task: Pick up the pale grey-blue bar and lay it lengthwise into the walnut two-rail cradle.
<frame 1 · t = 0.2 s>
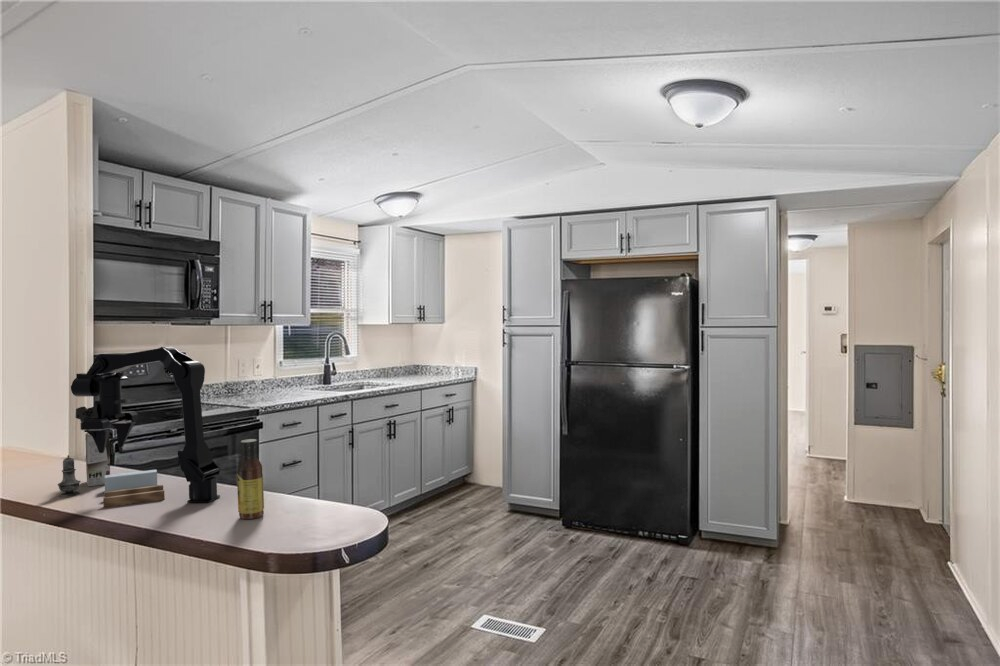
hand: (111, 449, 188), 14 cm above the table, fingers open, 9 cm apart
cradle: (134, 500, 186), on the table
salt shaker: (69, 495, 195), on the table
coffee box: (98, 483, 210), on the table
pale grey-blue bar: (131, 489, 200), on the table
sauce bottle: (251, 517, 166), on the table
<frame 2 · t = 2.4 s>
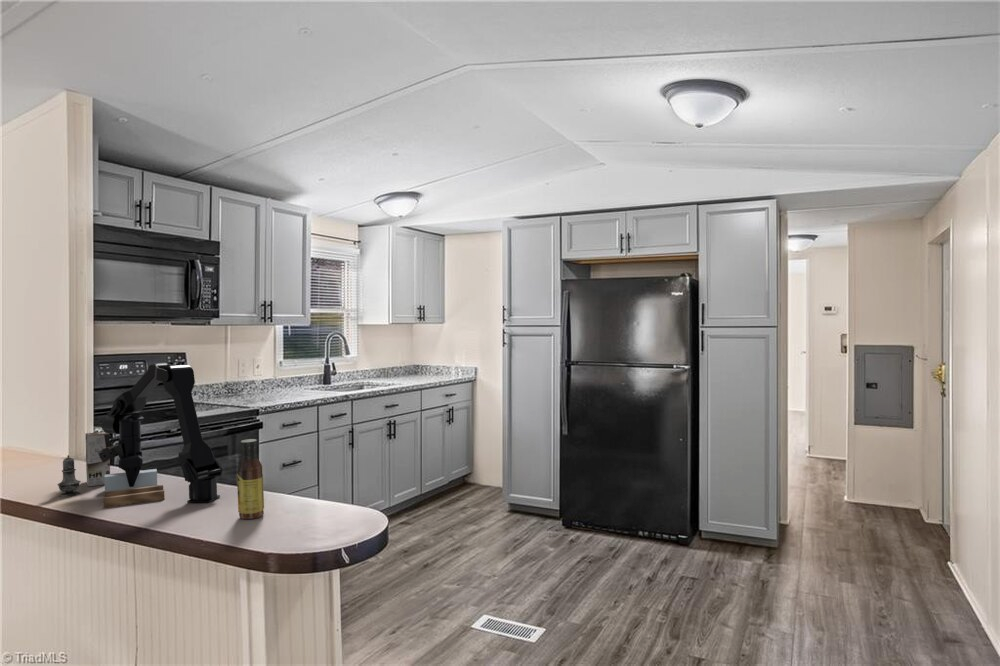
hand: (131, 485, 200), 1 cm above the table, fingers closed on pale grey-blue bar, 4 cm apart
pale grey-blue bar: (131, 489, 200), on the table, touching gripper
everything else where it was.
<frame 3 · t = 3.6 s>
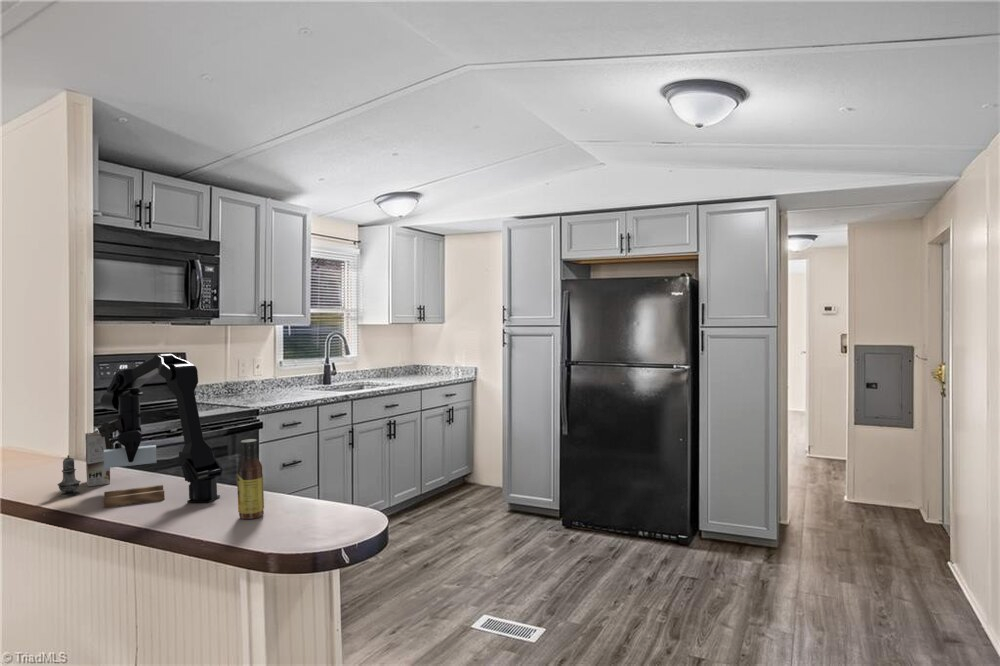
hand: (130, 460, 200), 9 cm above the table, fingers closed on pale grey-blue bar, 4 cm apart
pale grey-blue bar: (130, 464, 200), point 8 cm above the table, touching gripper
everything else where it was.
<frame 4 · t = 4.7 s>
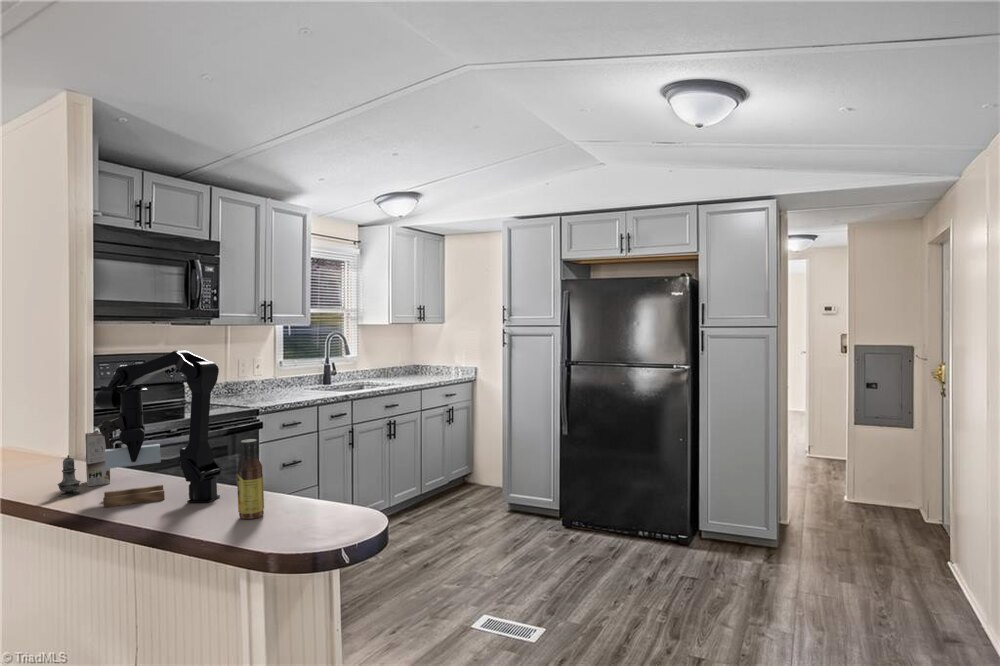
hand: (133, 460, 190), 11 cm above the table, fingers closed on pale grey-blue bar, 4 cm apart
pale grey-blue bar: (133, 464, 190), point 9 cm above the table, touching gripper
everything else where it was.
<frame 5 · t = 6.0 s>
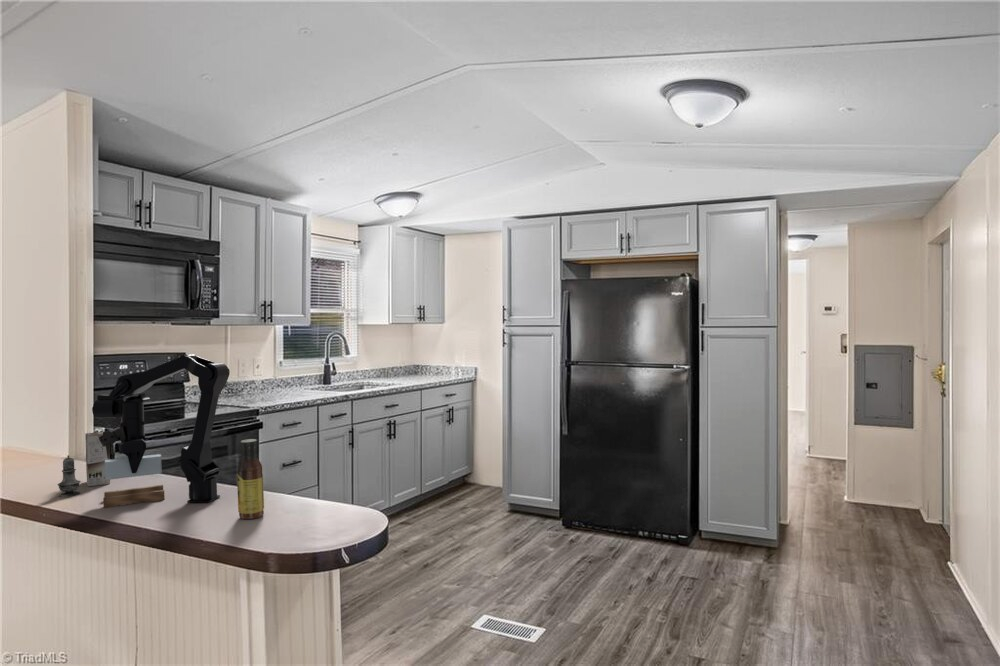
hand: (134, 471, 186), 8 cm above the table, fingers closed on pale grey-blue bar, 4 cm apart
pale grey-blue bar: (133, 475, 186), point 7 cm above the table, touching gripper
everything else where it was.
when the fingers open (3 cm above the table, at t = 7.1 s): pale grey-blue bar drops 3 cm, resting in cradle.
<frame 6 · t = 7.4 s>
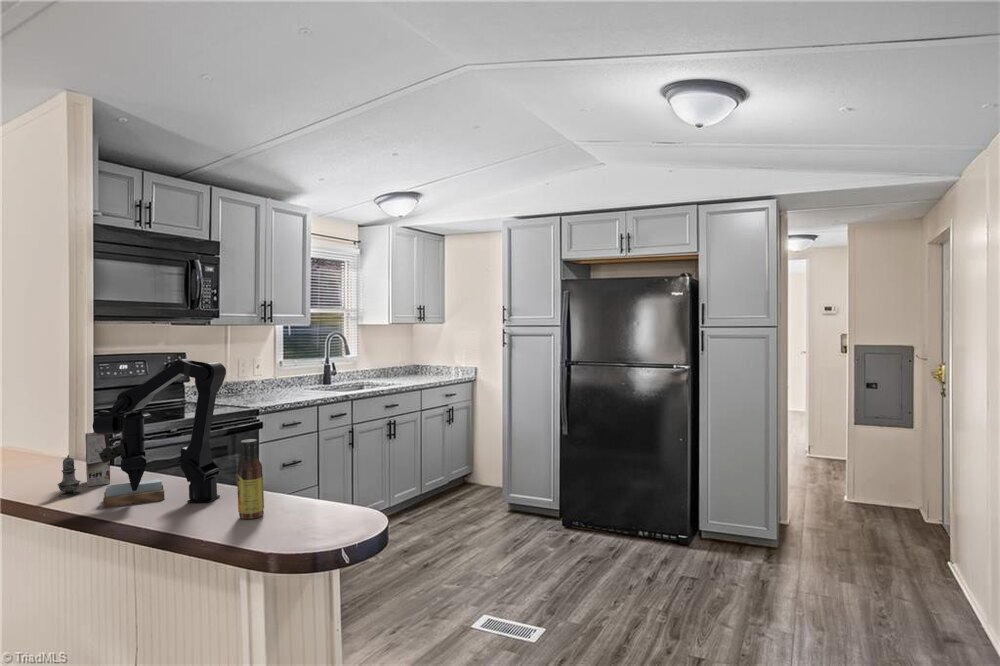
hand: (134, 487, 186), 3 cm above the table, fingers open, 7 cm apart
pale grey-blue bar: (134, 501, 186), resting in cradle
everything else where it was.
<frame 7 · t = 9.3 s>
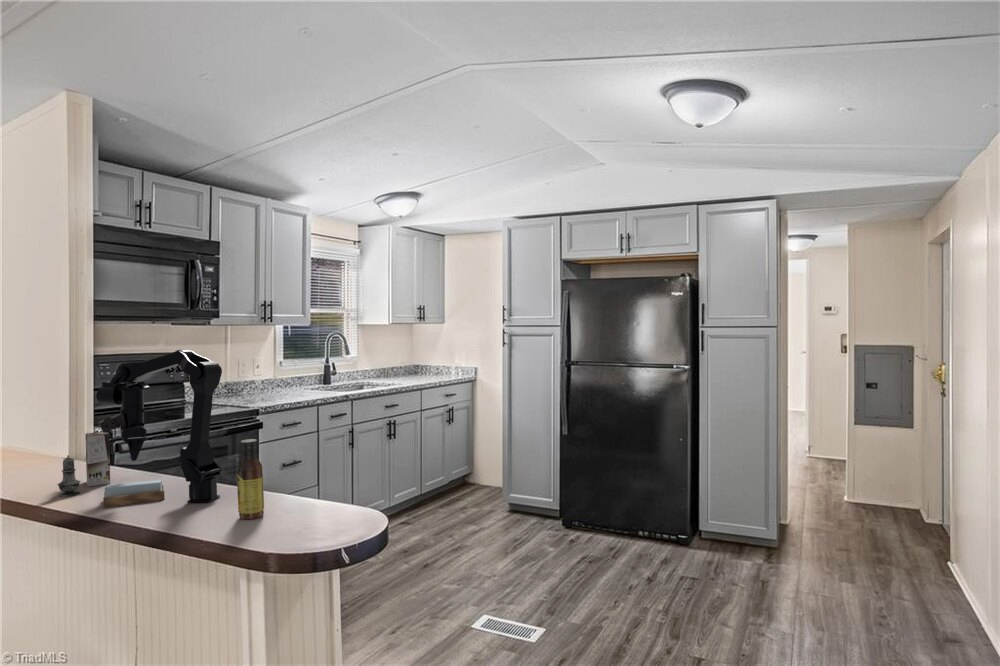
hand: (133, 458, 190), 11 cm above the table, fingers open, 9 cm apart
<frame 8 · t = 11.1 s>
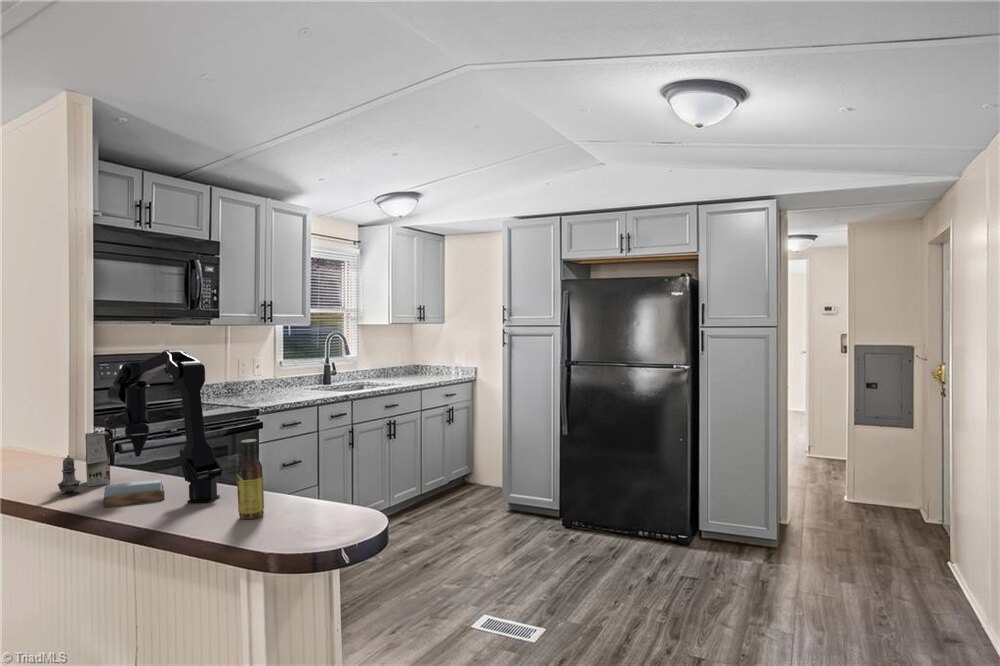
hand: (137, 453, 199), 11 cm above the table, fingers open, 9 cm apart
nothing on the table moved.
at the end: pale grey-blue bar 0.1 cm off-centre on the cradle, point 0.0 cm above the cradle's base; pale grey-blue bar tilted 0°; the gripper is holding nothing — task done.
